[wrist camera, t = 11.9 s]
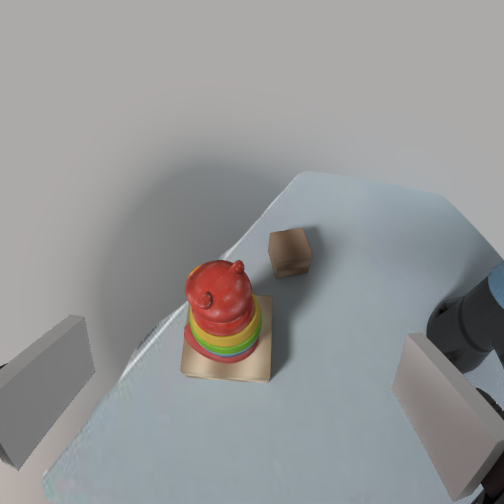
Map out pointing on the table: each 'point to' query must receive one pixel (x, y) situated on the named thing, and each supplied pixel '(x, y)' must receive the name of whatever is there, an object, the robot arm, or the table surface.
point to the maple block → (245, 370)
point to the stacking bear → (222, 312)
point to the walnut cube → (289, 252)
